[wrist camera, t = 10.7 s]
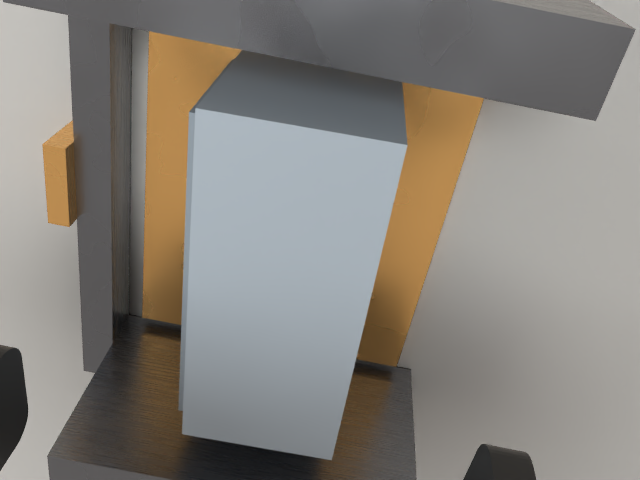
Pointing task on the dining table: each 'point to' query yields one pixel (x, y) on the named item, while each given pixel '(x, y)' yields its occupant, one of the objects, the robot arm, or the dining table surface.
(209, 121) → the tall pale blue prism
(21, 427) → the robot arm
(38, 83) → the dining table surface
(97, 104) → the rack
